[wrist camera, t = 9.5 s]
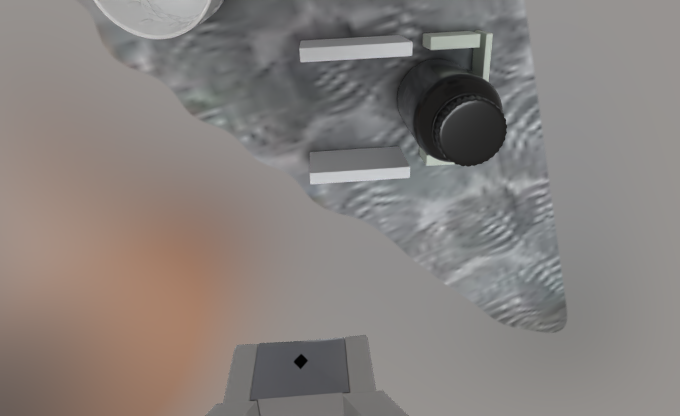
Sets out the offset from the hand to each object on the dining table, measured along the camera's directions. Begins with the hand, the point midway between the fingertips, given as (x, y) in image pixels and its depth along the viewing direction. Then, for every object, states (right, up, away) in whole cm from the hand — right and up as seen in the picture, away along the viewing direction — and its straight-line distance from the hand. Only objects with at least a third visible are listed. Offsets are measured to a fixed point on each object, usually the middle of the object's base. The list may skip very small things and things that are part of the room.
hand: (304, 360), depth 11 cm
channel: (+2, +13, +31) cm, 34 cm away
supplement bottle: (+9, +14, +31) cm, 35 cm away
